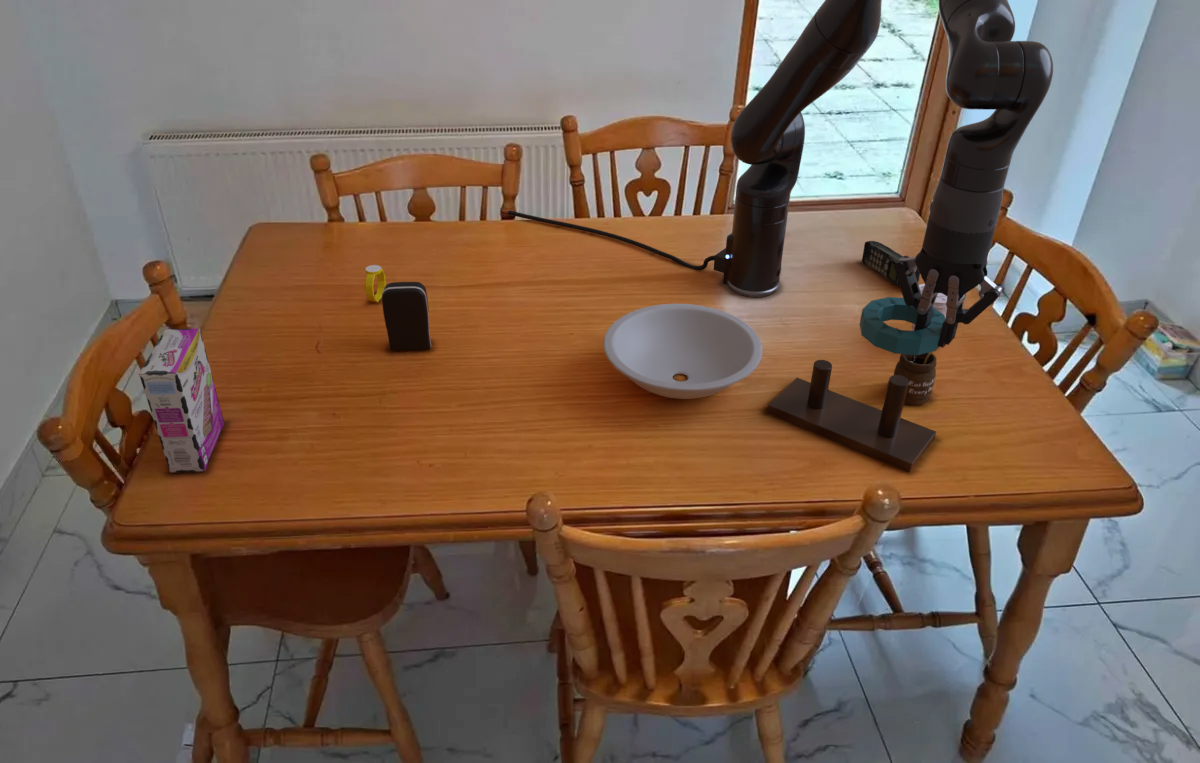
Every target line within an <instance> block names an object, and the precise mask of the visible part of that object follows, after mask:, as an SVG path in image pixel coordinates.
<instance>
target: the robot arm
mask: <svg viewBox="0 0 1200 763" xmlns="http://www.w3.org/2000/svg"><path fill="white" fill-rule="evenodd" d="M938 12H939V13H938V14H939V17H940V20H941V23H942V27H943V29H944V32H945V36H946V39H947V42H948V60H947V61H948V62H947V68H946V76H945V91H946V94H947V96H948V98H949V100H950V101H951V102H952V103H953V104H954V105H956V106H957V107H959V108H961V109H964V110H993V112H992V114H991V115H990V116H988V117H987V118H985V119H983V120H981V121H977V122H974V123H969V124H965V125H962V126H960V127H957V128H956V129H954V131H952V133H951V134H950V136H949V138H948V141H947V145H946V148H945V150H946V151H945V155H944V158H943V163H942V168H941V172H940V176H939V179H938V183H937V185H936V188H935V191H934V193H933V196H932V201H931V202H930V205H929V215H928V220H927V223H926V227H925V233H924V237H923V241H922V245H921V249H920V251H919V252H918V253H917V254H916V255H915V256H911V257H910V256H909V255H902V256H903V257H902V258H901V259H900V260H898V261H897V263H896V264H895V265H894V269H895V272H896V275H897V278H898V282H899V285H900V287H899V288H900V291H901V295H902V298H904V301H905V304H906V305H907V306H913V307H914V308H916V309H917V311H918V315H917V320H916V324H915V328H914V331H917V330H921V329H925V328H927V327H928V326H929V325H930V323H931V321H932V317H933V313H934V310H932V307H933V305H934V302H935V300H936V297H937V294H938V293H942V294H944V295H946V296H947V302H946V307H947V311H946V318H945V321H944V322H943V325H942V329H941V333H940V334H941V335H940V339H939V343H938V346H939V348H942V349H943V348H945V346H949V345H950V344H951V343H952V341H953V340H954V339H955V338H956V333H957V331H958V327H959V324H963V325H970V323H972V322H973V321H974V320H975V319H976V318H978V316H980V315H981V314H982V313H983V312H984V311H985V310H986V309H988V308H989V307H990V306H991V305H992V304H993V303H994V302H995V301H996V300H998V298H999V297H1000V296H1001V295H1002V294H1003V292H1004V291H1005V285H1004V284H1002V283H999V282H997V283H995V282H994V281H993V280H992V279H990V277H988V268H987V260H988V255H989V254H990V248H991V245H992V242H993V238H994V234H995V230H996V227H997V222H998V219H999V215H1000V212H1001V208H1002V203H1003V195H1004V189H1005V185H1006V181H1007V177H1008V174H1009V170H1010V166H1011V163H1012V158H1013V155H1014V152H1015V150H1016V149H1017V146H1018V144H1019V143H1020V141H1021V139H1022V138H1023V136H1024V133H1025V132H1026V130H1027V128H1028V127H1029V125H1030V123H1031V122H1032V120H1033V118H1034V117H1035V115H1036V113H1037V112H1038V110H1039V109H1040V107H1041V105H1042V104H1043V102H1044V100H1045V98H1046V96H1047V94H1048V92H1049V90H1050V87H1051V85H1052V80H1053V76H1054V61H1053V58H1052V54H1051V53H1050V52H1051V51H1050V50H1049V48H1048V47H1047V46H1046V45H1044V44H1042V43H1041V42H1038V41H1032V40H1013V37H1014V35H1015V31H1016V20H1015V16H1014V13H1013V10H1012V8H1011V5H1010V3H1009V1H1008V0H938ZM881 18H882V0H824V2H823V3H822V4H820V6H819V8H818V9H817V10H816V12H815V13H814V14H813V16H812V17H811V19H810V20H809V22H808V23H807V25H805V27H804V29H803V31H802V32H801V33H800V36H799V37H798V38H797V40H796V41H795V42H794V43H793V45H792V47H791V48H790V50H789V51H788V52H787V53H786V55H785V56H784V58H783V59H782V61H781V62H780V64H779V65H778V67H777V68H776V69H775V71H774V73H773V74H772V75H771V77H770V78H769V79H768V81H767V82H766V83H765V84H764V85H763V87H762V88H761V89H760V90H759V91H758V92H757V93H756V95H755V96H754V97H753V98H752V99H751V100H750V101H749V102H748V103H747V104H746V105H745V106H744V108H743V109H742V110H741V111H740V112H739V114H738V115H737V116H736V118H735V120H734V122H733V124H732V128H731V132H730V145H731V149H732V152H733V154H734V156H735V157H736V159H738V160H739V161H740V162H742V163H744V164H747V165H750V166H749V167H748V168H747V169H746V171H744V172H743V173H742V174H741V175H740V176H739V178H738V179H737V182H736V186H735V196H734V197H735V198H734V206H733V209H734V210H733V218H732V230H731V233H729V234H728V235H727V236H726V242H725V248H723V249H722V250H720V251H719V252H717V253H716V254H714V255H710V256H707V257H706V258H705V259H704V260H703V263H702V265H694V264H690V263H688V262H686V261H684V260H682V259H680V258H678V257H677V256H675V255H672V254H670V253H668V252H664V251H662V250H660V249H657V248H654V247H652V246H650V245H647V244H645V243H642V242H639V241H636V240H634V239H631V238H627V237H624V236H621V235H618V234H615V233H611V232H608V231H605V230H600V229H596V228H592V227H587V226H584V225H579V224H574V223H569V222H564V221H560V220H555V219H549V218H545V217H539V216H536V215H531V214H528V213H527V214H526V213H522V212H518V211H515V210H514V211H513V210H508V211H507V214H508V215H509V216H514V217H518V218H522V219H526V220H531V221H534V222H540V223H545V224H549V225H554V226H559V227H563V228H569V229H573V230H577V231H582V232H587V233H591V234H595V235H599V236H603V237H606V238H610V239H613V240H617V241H620V242H623V243H626V244H629V245H632V246H635V247H638V248H640V249H643V250H646V251H649V252H650V253H653V254H655V255H658V256H661V257H663V258H665V259H668V260H671V261H673V262H675V263H677V264H679V265H680V266H682V267H685V268H689V269H692V270H696V271H703V270H706V268H707V267H708V265H709V262H711V261H713V271H715V272H719V273H721V274H722V284H723V285H724V286H725V285H726V286H727V287H728V289H729V290H731V291H732V292H733V293H736V294H738V295H741V296H744V297H749V298H763V297H768V296H771V295H773V294H775V293H776V292H778V290H779V287H780V279H781V276H782V272H781V271H782V261H783V255H784V254H783V253H784V246H785V240H786V230H787V223H788V215H789V208H790V200H791V193H792V191H793V189H794V188H795V186H796V184H797V181H798V177H799V173H800V167H801V162H802V158H803V153H804V152H803V151H804V146H805V139H806V138H805V137H806V125H805V120H804V115H803V113H802V112H803V111H804V110H805V109H806V108H807V107H808V106H810V105H811V104H812V103H814V102H815V101H817V100H818V99H819V98H820V97H822V96H823V95H825V94H826V93H827V92H828V91H830V90H831V89H832V88H834V87H835V86H836V85H837V84H838V83H840V82H841V81H842V80H843V79H844V78H845V77H846V76H848V74H850V72H851V71H852V70H853V69H854V68H855V67H856V66H857V65H858V63H859V62H860V60H861V59H863V57H864V55H865V54H866V53H867V52H868V51H869V49H870V48H871V47H872V45H873V44H874V42H875V41H876V39H877V38H878V34H879V30H880V28H881ZM917 268H918V270H919V272H920V276H921V278H922V281H923V284H925V286H924V289H923V291H922V294H921V291H920V288H919V285H920V284H919V282H918V281H917V278H916V275H915V272H916V270H917ZM978 286H980V290H979V291H978V296H979V299H978V300H977V301H976V302H974V304H972V305H971V306H970V307H969V308H964V304H965V300H966V298H967V297H966V296H967V294H968V292H970V291H972V290H973V289H975V288H976V287H978Z"/></svg>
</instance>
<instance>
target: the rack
mask: <svg viewBox="0 0 1200 763" xmlns="http://www.w3.org/2000/svg"><path fill="white" fill-rule="evenodd" d="M832 370H833V364H832V362H830V361H828V360H825V359H817V360H815V361H814V362H813V365H812V371H811V377H810V381H808V380H805V379H802V378H800V377H796V378H794V379H793V381H792V382H790V383H789V384H788V386H786V387H785V388H784V389H783V390H782V391H781V392H780V393H779V394H778V395H777V396H776V397H775V398H773V400H772V401H771V402H769V404H768V405H767V414H769V415H771V416H774V417H775V418H778V419H780V420H783V421H785V422H788V423H791V424H793V425H795V426H797V427H800V428H802V429H805V430H807V431H809V432H812V433H815V434H817V435H819V436H822V437H823V438H827V439H829V440H832V441H833V442H836V443H839V444H841V445H843V446H846V447H848V448H851V449H853V450H856V451H858V452H860V453H863V454H865V455H867V456H870V457H872V458H874V459H877V460H880V461H882V462H884V463H886V464H889V465H890V466H894V467H896V468H898V469H901V470H903V471H906V472H908V473H911V472H912V470H913V469H914V467H915V466H916V465H917V464H918V462H919V461H920V460H921V458H922V457H923V455H924V454H925V453H927V452H926V451H927V450H928V449H929V448H930V446H931V445H932V444H933V442H934V441H935V439H936V436H937V431H936V430H934V429H931V428H929V427H927V426H926V427H925V426H923V425H921V424H917V423H916V422H912V421H910V420H908V419H905V418H903V417H902V414H903V409H904V405H905V403H904V401H905V397H906V393H907V389H908V384H909V380H908V379H907V378H906V377H904V376H901V375H894V374H892V375H890V376H889V378H888V381H887V382H888V383H887V388H886V391H885V395H884V399H883V400H884V401H883V405H882V409H879V408H877V407H874V406H872V405H870V404H866V403H865V402H862V401H859V400H856V399H853V398H851V397H848V396H846V395H843V394H841V393H838V392H835V391H833V390H830V389H829V386H830V381H831V375H832Z"/></svg>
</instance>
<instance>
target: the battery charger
mask: <svg viewBox="0 0 1200 763" xmlns="http://www.w3.org/2000/svg"><path fill="white" fill-rule="evenodd" d="M381 305H382V306H381V307H382V314H383V318H384V323H385V328H386V332H387V334H386V335H387V340H388V348H389V350H390V351H391V352H411V351H412V352H413V351H427V350H430V349H432V339H431V333H430V319H429V318H430V315H429V308H430V307H429V300H428V292H427V288H426V286H425V285H424V284H423V283H422V282H420V281H396V282H395V281H393V282H389V283H386V286H385V288H384V291H383V293H382V298H381Z"/></svg>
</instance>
